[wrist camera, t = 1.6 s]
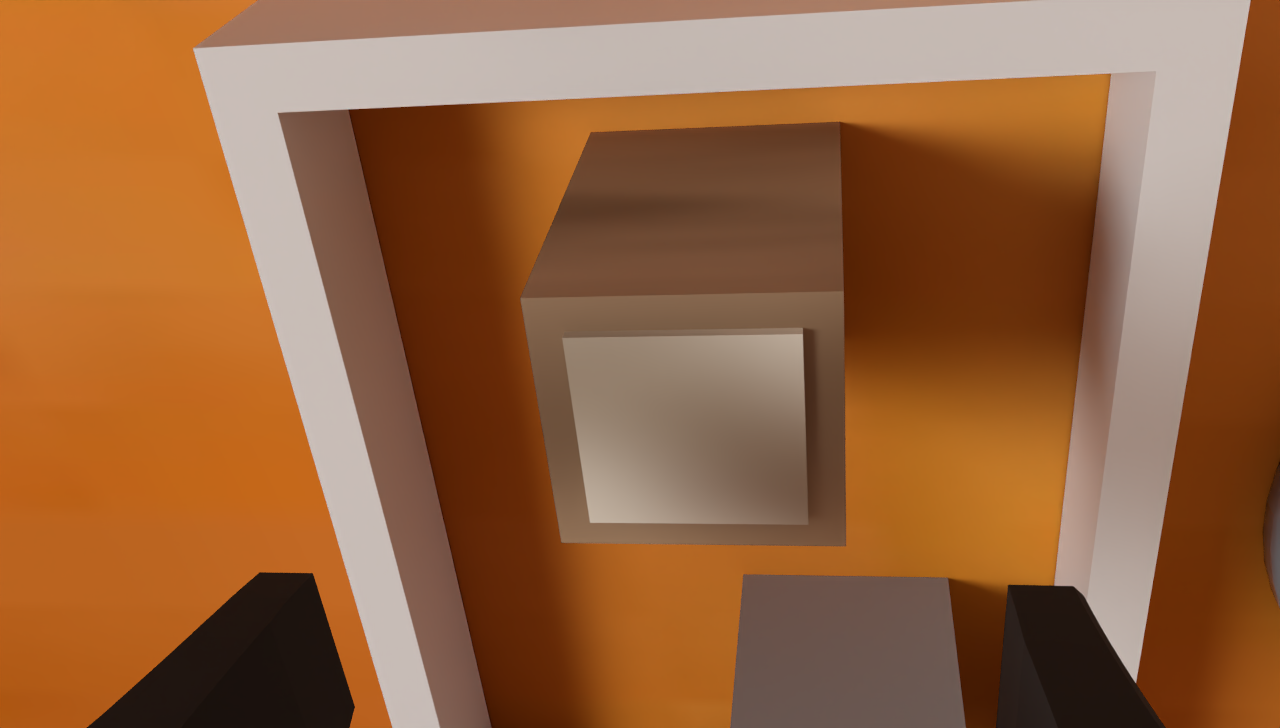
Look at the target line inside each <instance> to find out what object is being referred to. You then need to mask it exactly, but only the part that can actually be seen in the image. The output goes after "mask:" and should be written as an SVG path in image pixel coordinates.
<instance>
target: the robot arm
mask: <svg viewBox="0 0 1280 728" xmlns="http://www.w3.org/2000/svg"><path fill="white" fill-rule="evenodd" d="M354 708H355V706H354V703H353V700H352V697H351V693H350V690H349V687H348V684H347V681H346V678H345V674H344V671H343V668H342V665H341V662H340V658H339V655H338V652H337V649H336V646H335V643H334V639H333V636H332V633H331V630H330V627H329V624H328V620H327V617H326V614H325V611H324V608H323V604H322V601H321V598H320V595H319V592H318V589H317V585H316V582H315V579H314V576H313V573H259V574H258V575H256V576H255V577H254V578H253V579H252V580H251V581H249V582H248V583H247V584H246V585H245V586H244V587H242V588H241V589H240V590H239V591H238V592H237V593H236V594H235V595H233V596H232V597H231V598H230V599H229V600H228V601H227V602H226V603H225V604H224V605H222V606H221V607H220V608H219V609H218V610H217V611H216V612H215V613H214V614H213V615H212V616H211V617H209V618H208V619H207V620H206V621H205V622H204V623H203V624H202V625H201V626H200V627H199V628H198V629H196V630H195V631H194V632H193V633H192V634H191V635H190V636H189V637H188V638H187V639H186V640H185V641H183V642H182V643H181V644H180V645H179V646H178V647H177V648H176V649H175V650H174V651H173V652H172V653H170V654H169V655H168V656H167V657H166V658H165V659H164V660H163V661H162V662H161V663H159V664H158V665H157V666H156V667H155V668H154V669H153V670H152V671H151V672H149V673H148V674H147V675H146V676H145V677H144V678H143V679H142V680H141V681H139V682H138V683H137V684H136V685H135V686H134V687H133V688H132V689H131V690H129V691H128V692H127V693H126V694H125V695H124V696H123V697H122V698H121V699H119V700H118V701H117V702H116V703H115V704H114V705H113V706H112V707H111V708H109V709H108V710H107V711H106V712H105V713H104V714H103V715H101V716H100V717H99V718H98V719H97V720H95V721H94V722H93V723H92V724H91V725H89V726H88V727H87V728H349V727H350V723H351V719H352V715H353V712H354ZM996 728H1165V726H1164V725H1163V723H1162V722H1161V721H1160V719H1159V718H1158V716H1157V715H1156V713H1155V712H1154V710H1153V709H1152V707H1151V706H1150V704H1149V703H1148V701H1147V700H1146V698H1145V697H1144V695H1143V694H1142V692H1141V691H1140V689H1139V688H1138V686H1137V684H1136V683H1135V681H1134V680H1133V678H1132V677H1131V675H1130V674H1129V672H1128V671H1127V669H1126V667H1125V666H1124V664H1123V663H1122V661H1121V659H1120V658H1119V656H1118V655H1117V653H1116V651H1115V650H1114V648H1113V646H1112V645H1111V643H1110V641H1109V640H1108V638H1107V636H1106V635H1105V633H1104V631H1103V630H1102V628H1101V626H1100V624H1099V622H1098V621H1097V619H1096V617H1095V615H1094V614H1093V612H1092V610H1091V608H1090V606H1089V604H1088V603H1087V601H1086V599H1085V597H1084V595H1083V594H1082V593H1080V592H1079V591H1078V590H1077V589H1076V588H1075V587H1074V586H1038V585H1008V593H1007V604H1006V616H1005V628H1004V640H1003V652H1002V663H1001V675H1000V687H999V699H998V711H997V722H996Z"/></svg>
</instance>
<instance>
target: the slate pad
mask: <svg viewBox="0 0 1280 728" xmlns="http://www.w3.org/2000/svg"><path fill="white" fill-rule="evenodd" d="M1263 546H1264V562H1265V566H1266V570H1267V574H1268V578H1269V582H1270V587H1271V590H1272V592H1273V594H1274V597H1275V599H1276V601H1277V604H1278V606H1279V608H1280V464H1279V466H1278V468H1277V470H1276V473H1275V477H1274V480H1273V483H1272V486H1271V489H1270V493H1269V496H1268V499H1267V504H1266V511H1265V519H1264V526H1263Z"/></svg>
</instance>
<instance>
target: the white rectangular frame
mask: <svg viewBox="0 0 1280 728" xmlns="http://www.w3.org/2000/svg"><path fill="white" fill-rule="evenodd" d="M1250 1H1251V0H258V1H256V2H255V3H254V4H252V5H251V6H250V7H248V8H247V9H246V10H244V11H243V12H241V13H240V14H239V15H237V16H236V17H235V18H233V19H232V20H231V21H229V22H228V23H227V24H225V25H224V26H223V27H221V28H220V29H219V30H217V31H216V32H214V33H213V34H212V35H210V36H209V37H208V38H206V39H205V40H204V41H202V42H201V43H200V44H198V45H197V46H196V47H194V48H193V50H194V53H195V57H196V60H197V63H198V67H199V70H200V74H201V77H202V81H203V84H204V87H205V91H206V94H207V98H208V101H209V104H210V108H211V111H212V115H213V118H214V121H215V125H216V128H217V132H218V135H219V138H220V142H221V145H222V149H223V152H224V155H225V159H226V162H227V166H228V169H229V172H230V176H231V179H232V183H233V186H234V189H235V193H236V196H237V200H238V203H239V206H240V210H241V213H242V217H243V220H244V223H245V227H246V230H247V234H248V237H249V240H250V244H251V247H252V251H253V254H254V258H255V261H256V264H257V268H258V271H259V275H260V278H261V281H262V285H263V288H264V292H265V295H266V298H267V302H268V305H269V309H270V312H271V315H272V319H273V322H274V326H275V329H276V332H277V336H278V339H279V343H280V346H281V349H282V353H283V356H284V360H285V363H286V366H287V370H288V373H289V377H290V380H291V383H292V387H293V390H294V394H295V397H296V400H297V404H298V407H299V411H300V414H301V418H302V421H303V424H304V428H305V431H306V435H307V438H308V441H309V445H310V448H311V452H312V455H313V458H314V462H315V465H316V469H317V472H318V475H319V479H320V482H321V486H322V489H323V492H324V496H325V499H326V503H327V506H328V509H329V513H330V516H331V520H332V523H333V526H334V530H335V533H336V537H337V540H338V543H339V547H340V550H341V554H342V557H343V560H344V564H345V567H346V571H347V574H348V577H349V581H350V584H351V588H352V591H353V595H354V598H355V601H356V605H357V608H358V612H359V615H360V618H361V622H362V625H363V629H364V632H365V635H366V639H367V642H368V646H369V649H370V652H371V656H372V659H373V663H374V666H375V669H376V673H377V676H378V680H379V683H380V686H381V690H382V693H383V697H384V700H385V703H386V707H387V710H388V714H389V717H390V720H391V724H392V727H393V728H491V723H490V719H489V715H488V710H487V706H486V702H485V697H484V693H483V689H482V684H481V680H480V676H479V672H478V667H477V663H476V659H475V654H474V650H473V646H472V641H471V637H470V633H469V628H468V624H467V620H466V615H465V611H464V607H463V602H462V598H461V594H460V590H459V585H458V581H457V577H456V572H455V568H454V564H453V559H452V555H451V551H450V546H449V542H448V538H447V533H446V529H445V525H444V521H443V516H442V512H441V508H440V503H439V499H438V495H437V490H436V486H435V482H434V477H433V473H432V469H431V464H430V460H429V456H428V451H427V447H426V443H425V439H424V434H423V430H422V426H421V421H420V417H419V413H418V408H417V404H416V400H415V395H414V391H413V387H412V382H411V378H410V374H409V369H408V365H407V361H406V357H405V352H404V348H403V344H402V339H401V335H400V331H399V326H398V322H397V318H396V313H395V309H394V305H393V300H392V296H391V292H390V287H389V283H388V279H387V275H386V270H385V266H384V262H383V257H382V253H381V249H380V244H379V240H378V236H377V231H376V227H375V223H374V218H373V214H372V210H371V205H370V201H369V197H368V193H367V188H366V184H365V180H364V175H363V171H362V167H361V162H360V158H359V154H358V149H357V145H356V141H355V136H354V132H353V128H352V123H351V119H350V115H349V111H348V109H368V108H389V107H410V106H431V105H452V104H473V103H495V102H516V101H537V100H558V99H579V98H600V97H622V96H643V95H664V94H685V93H706V92H727V91H749V90H770V89H791V88H812V87H833V86H854V85H876V84H897V83H918V82H939V81H960V80H981V79H1003V78H1024V77H1045V76H1066V75H1087V74H1108V73H1111V80H1110V89H1109V98H1108V107H1107V116H1106V125H1105V134H1104V143H1103V152H1102V161H1101V170H1100V179H1099V188H1098V197H1097V206H1096V215H1095V224H1094V233H1093V242H1092V251H1091V260H1090V269H1089V278H1088V287H1087V296H1086V305H1085V314H1084V323H1083V332H1082V341H1081V350H1080V359H1079V368H1078V377H1077V385H1076V394H1075V403H1074V412H1073V421H1072V430H1071V439H1070V448H1069V457H1068V466H1067V475H1066V484H1065V493H1064V502H1063V511H1062V520H1061V529H1060V538H1059V547H1058V556H1057V565H1056V574H1055V583H1054V586H1074V587H1075V588H1076V589H1077V590H1078V591H1079V592H1080V593H1082V594H1083V595H1084V597H1085V599H1086V601H1087V603H1088V604H1089V606H1090V608H1091V610H1092V612H1093V614H1094V615H1095V617H1096V619H1097V621H1098V622H1099V624H1100V626H1101V628H1102V630H1103V631H1104V633H1105V635H1106V636H1107V638H1108V640H1109V641H1110V643H1111V645H1112V646H1113V648H1114V650H1115V651H1116V653H1117V655H1118V656H1119V658H1120V659H1121V661H1122V663H1123V664H1124V666H1125V667H1126V669H1127V671H1128V672H1129V674H1130V675H1131V677H1132V678H1133V680H1134V681H1135V683H1136V680H1137V674H1138V668H1139V662H1140V656H1141V650H1142V644H1143V638H1144V632H1145V627H1146V621H1147V615H1148V609H1149V603H1150V597H1151V591H1152V585H1153V579H1154V573H1155V567H1156V561H1157V555H1158V549H1159V543H1160V537H1161V531H1162V525H1163V519H1164V513H1165V507H1166V501H1167V496H1168V490H1169V484H1170V478H1171V472H1172V466H1173V460H1174V454H1175V448H1176V442H1177V436H1178V430H1179V424H1180V418H1181V412H1182V406H1183V400H1184V394H1185V388H1186V382H1187V376H1188V370H1189V365H1190V359H1191V353H1192V347H1193V341H1194V335H1195V329H1196V323H1197V317H1198V311H1199V305H1200V299H1201V293H1202V287H1203V281H1204V275H1205V269H1206V263H1207V257H1208V251H1209V245H1210V239H1211V234H1212V228H1213V222H1214V216H1215V210H1216V204H1217V198H1218V192H1219V186H1220V180H1221V174H1222V168H1223V162H1224V156H1225V150H1226V144H1227V138H1228V132H1229V126H1230V120H1231V114H1232V108H1233V102H1234V97H1235V91H1236V85H1237V79H1238V73H1239V67H1240V61H1241V55H1242V49H1243V43H1244V37H1245V31H1246V25H1247V19H1248V13H1249V7H1250Z"/></svg>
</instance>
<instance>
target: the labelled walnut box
mask: <svg viewBox="0 0 1280 728" xmlns="http://www.w3.org/2000/svg"><path fill="white" fill-rule="evenodd" d="M520 300H521V306H522V312H523V318H524V324H525V330H526V336H527V342H528V347H529V353H530V359H531V365H532V371H533V377H534V383H535V389H536V395H537V401H538V407H539V413H540V419H541V425H542V431H543V436H544V442H545V448H546V454H547V460H548V466H549V472H550V478H551V484H552V490H553V496H554V502H555V508H556V514H557V519H558V525H559V531H560V537H561V543H614V544H700V545H785V546H846V489H845V370H844V276H843V231H842V186H841V142H840V122H826V123H802V124H779V125H755V126H732V127H708V128H685V129H662V130H638V131H615V132H591V133H590V136H589V138H588V140H587V143H586V145H585V147H584V150H583V152H582V154H581V157H580V159H579V161H578V164H577V166H576V168H575V171H574V173H573V176H572V178H571V180H570V183H569V185H568V187H567V190H566V192H565V194H564V197H563V199H562V201H561V204H560V206H559V208H558V211H557V213H556V215H555V218H554V220H553V222H552V225H551V227H550V229H549V232H548V234H547V236H546V239H545V241H544V243H543V246H542V248H541V251H540V253H539V255H538V258H537V260H536V262H535V265H534V267H533V269H532V272H531V274H530V276H529V279H528V281H527V283H526V286H525V288H524V290H523V293H522V295H521V297H520Z"/></svg>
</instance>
